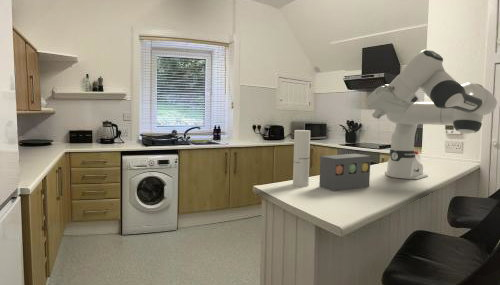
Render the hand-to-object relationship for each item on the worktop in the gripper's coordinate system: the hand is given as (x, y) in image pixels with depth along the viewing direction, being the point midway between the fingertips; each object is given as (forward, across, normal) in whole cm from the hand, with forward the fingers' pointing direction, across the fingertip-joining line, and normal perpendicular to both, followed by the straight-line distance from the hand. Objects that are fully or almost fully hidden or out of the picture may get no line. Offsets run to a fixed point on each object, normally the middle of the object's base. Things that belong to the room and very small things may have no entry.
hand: (375, 117), depth 132 cm
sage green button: (+28, +10, -4) cm, 30 cm away
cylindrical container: (+45, -4, +1) cm, 46 cm away
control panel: (+36, +11, -6) cm, 38 cm away
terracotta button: (+30, +2, -4) cm, 30 cm away
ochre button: (+27, +18, -3) cm, 32 cm away
